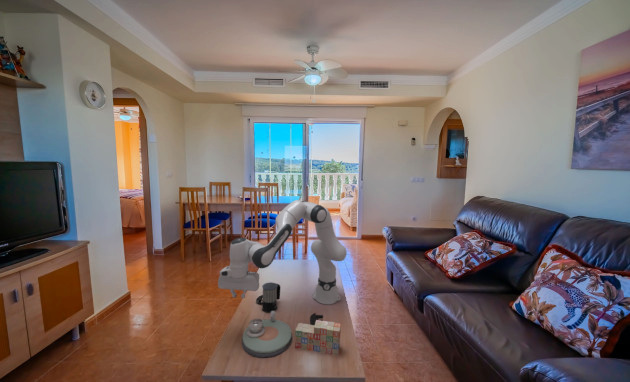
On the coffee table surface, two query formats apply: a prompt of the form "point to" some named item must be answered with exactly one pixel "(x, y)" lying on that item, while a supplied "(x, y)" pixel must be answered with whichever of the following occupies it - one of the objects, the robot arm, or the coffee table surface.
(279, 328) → the turntable
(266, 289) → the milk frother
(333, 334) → the stack of blocks
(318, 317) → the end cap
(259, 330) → the cover
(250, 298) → the coffee table surface
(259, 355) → the turntable base
